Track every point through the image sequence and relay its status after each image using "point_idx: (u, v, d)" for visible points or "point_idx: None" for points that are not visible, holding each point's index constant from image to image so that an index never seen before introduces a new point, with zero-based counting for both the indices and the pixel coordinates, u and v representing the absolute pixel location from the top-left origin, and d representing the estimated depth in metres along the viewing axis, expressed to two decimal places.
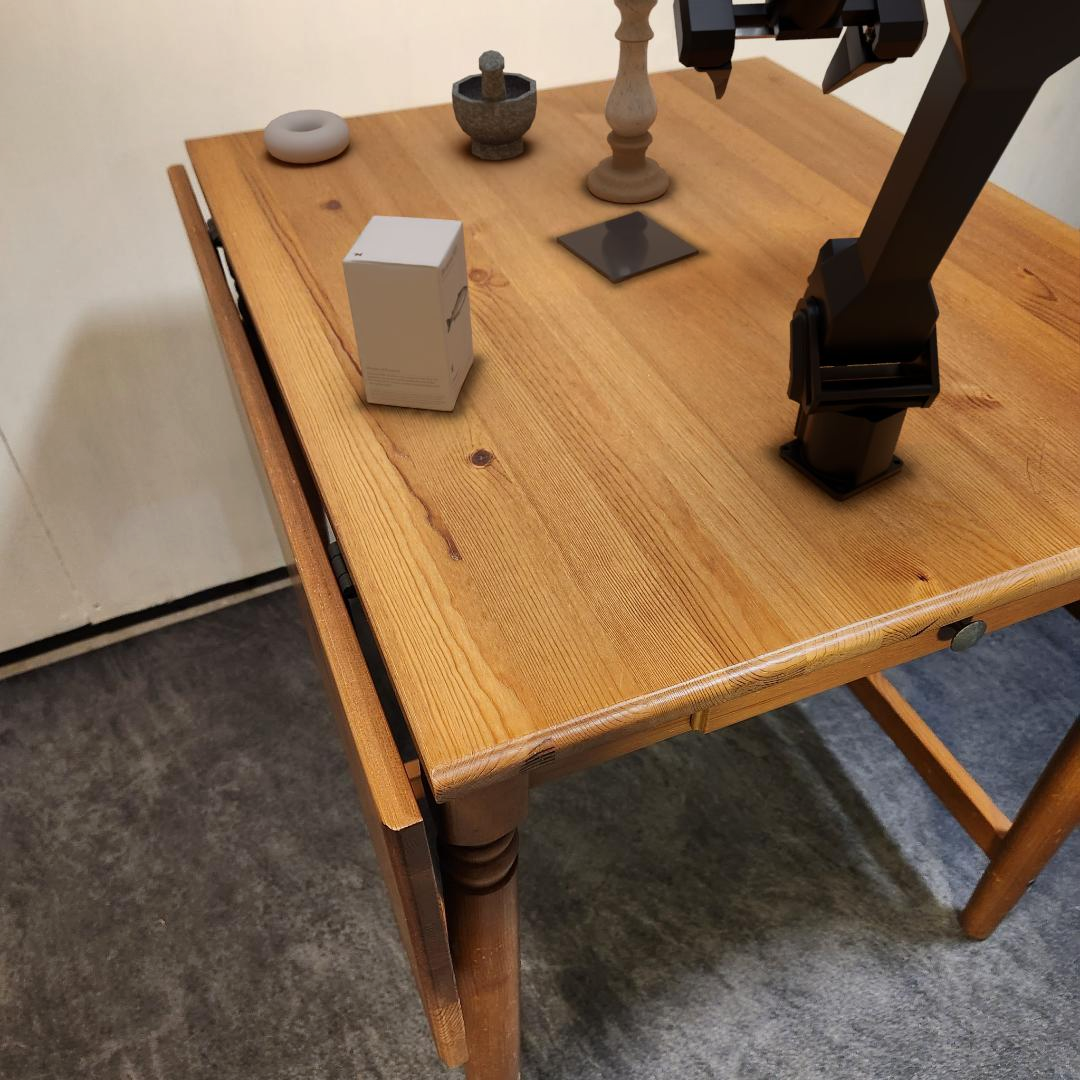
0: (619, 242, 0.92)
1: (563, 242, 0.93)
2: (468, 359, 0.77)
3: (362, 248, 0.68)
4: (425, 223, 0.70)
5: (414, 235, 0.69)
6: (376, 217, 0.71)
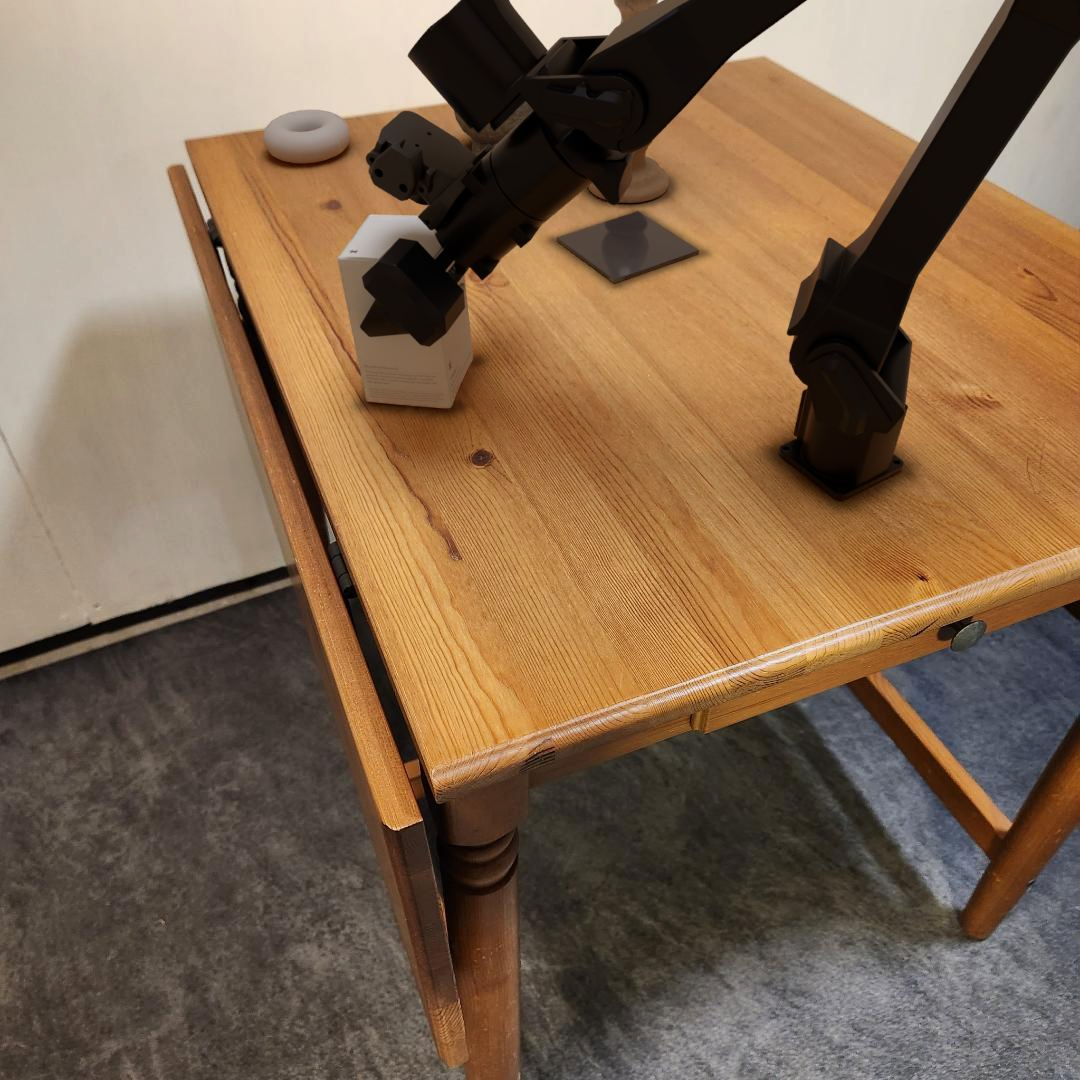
0: (619, 242, 0.92)
1: (563, 242, 0.93)
2: (467, 357, 0.77)
3: (357, 245, 0.68)
4: (420, 220, 0.70)
5: (409, 232, 0.69)
6: (372, 216, 0.71)
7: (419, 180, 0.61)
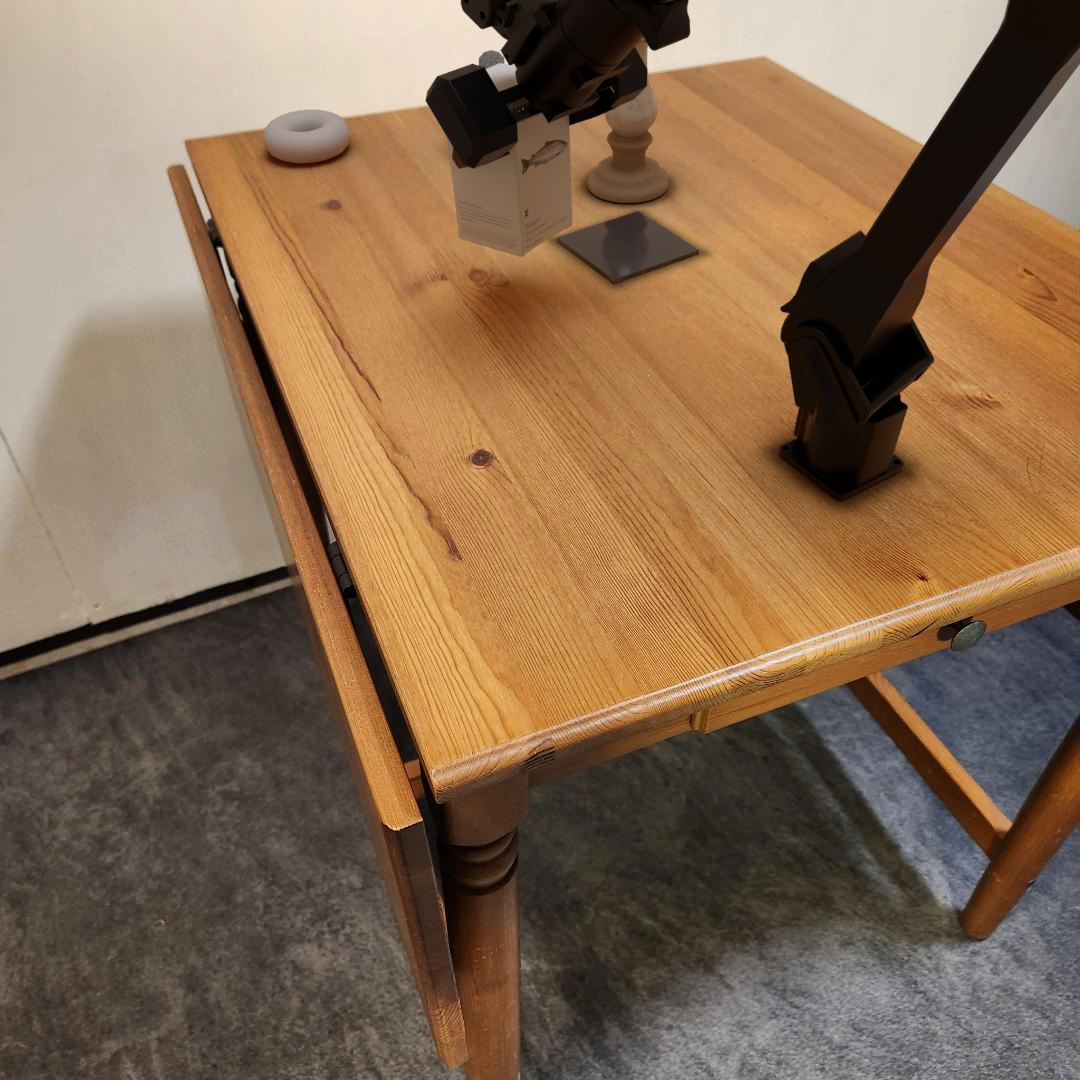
0: (619, 242, 0.92)
1: (563, 242, 0.93)
2: (560, 218, 0.80)
3: None
4: None
5: (514, 77, 0.74)
6: (499, 64, 0.77)
7: (498, 10, 0.65)
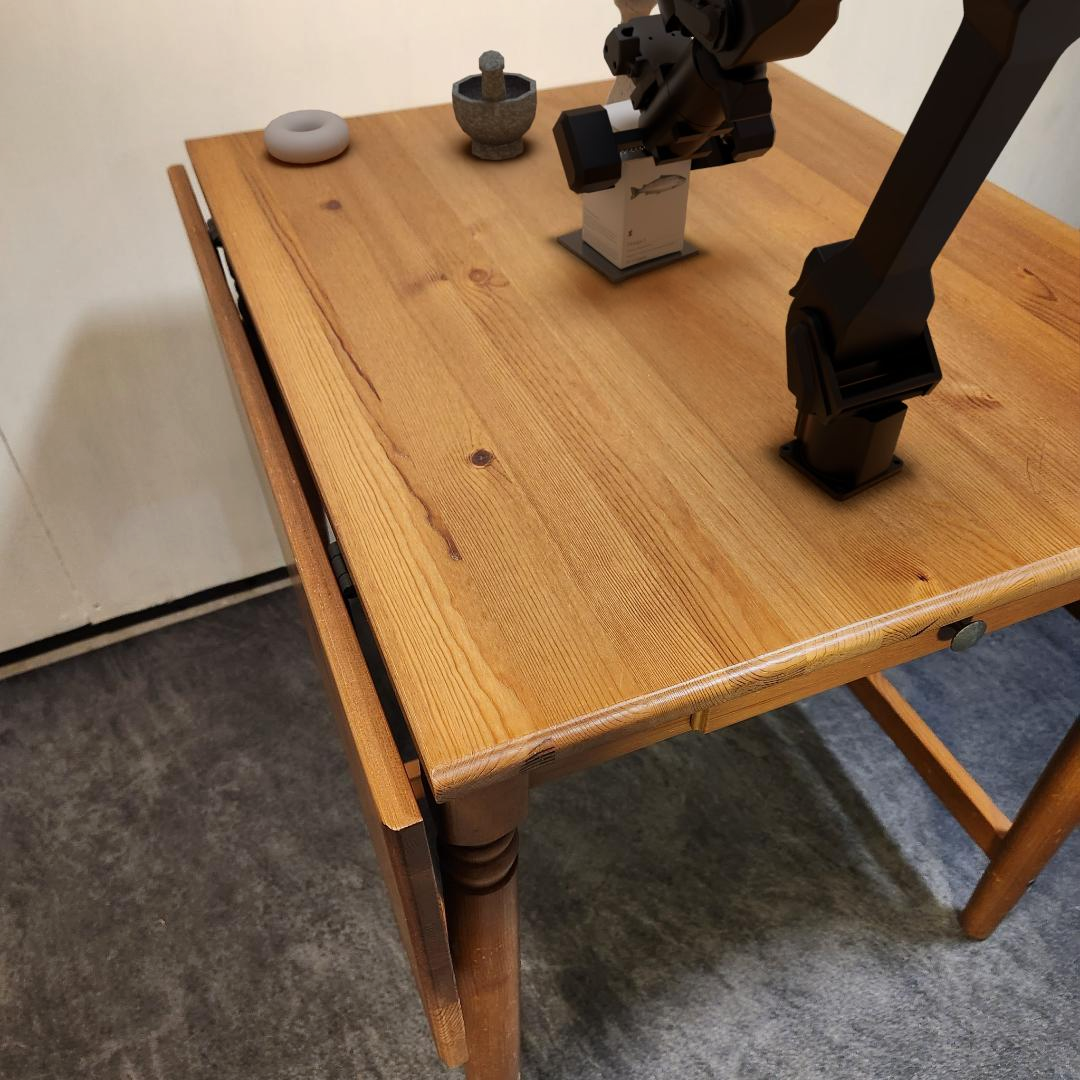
0: None
1: (563, 242, 0.93)
2: (669, 242, 0.89)
3: (606, 108, 0.84)
4: None
5: None
6: None
7: (628, 62, 0.74)
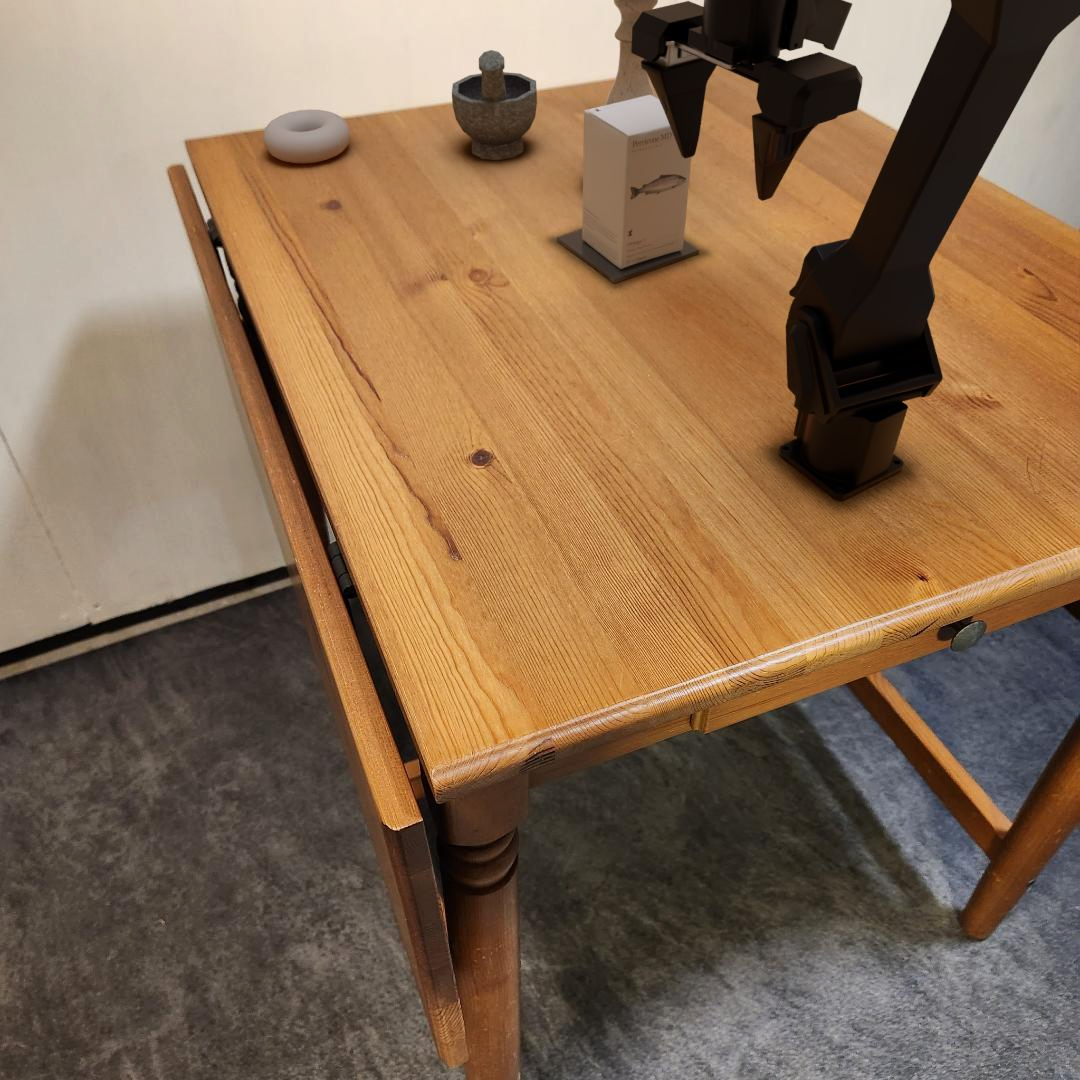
0: None
1: (563, 242, 0.93)
2: (669, 242, 0.89)
3: (606, 108, 0.84)
4: None
5: (647, 113, 0.83)
6: (648, 96, 0.86)
7: None
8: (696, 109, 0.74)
